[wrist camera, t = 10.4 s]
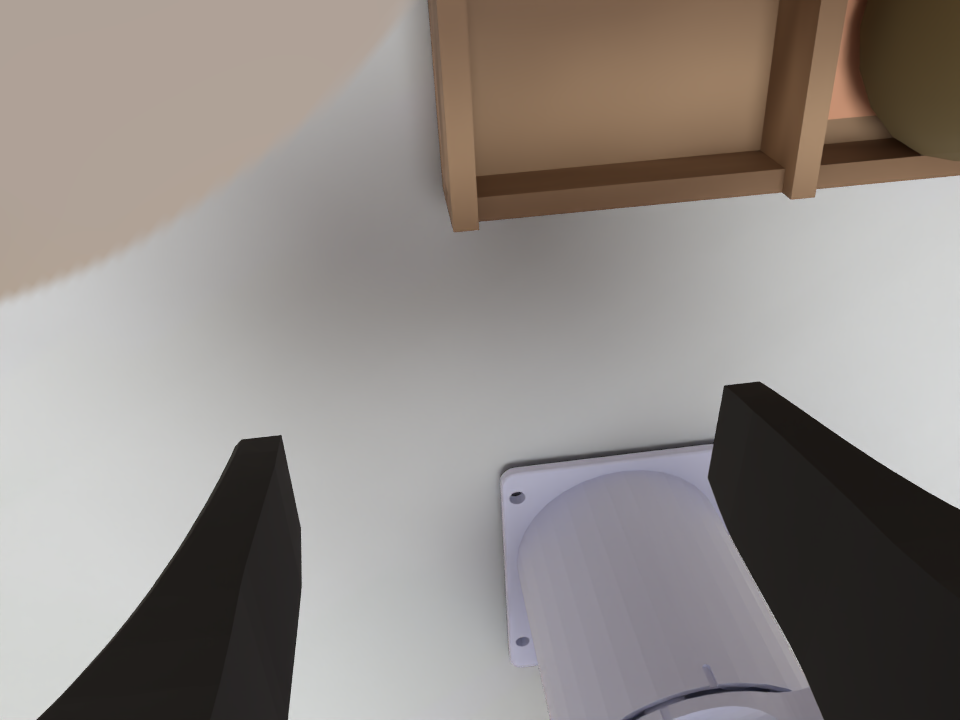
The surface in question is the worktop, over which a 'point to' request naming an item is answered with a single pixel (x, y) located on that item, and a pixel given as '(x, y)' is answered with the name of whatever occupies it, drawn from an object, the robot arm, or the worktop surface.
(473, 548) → the worktop surface
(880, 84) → the olive bulbous cylinder
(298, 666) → the worktop surface
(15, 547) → the worktop surface
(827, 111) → the spice rack
